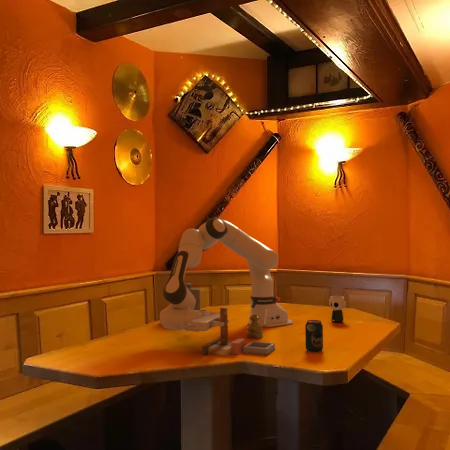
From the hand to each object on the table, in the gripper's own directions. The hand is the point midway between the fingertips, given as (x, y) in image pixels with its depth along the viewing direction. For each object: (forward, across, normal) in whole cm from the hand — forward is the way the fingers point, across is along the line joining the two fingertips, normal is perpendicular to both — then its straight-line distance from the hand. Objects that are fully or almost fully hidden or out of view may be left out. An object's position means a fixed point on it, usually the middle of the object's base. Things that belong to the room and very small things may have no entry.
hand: (226, 322), depth 206 cm
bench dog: (+5, 0, +11) cm, 13 cm away
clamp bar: (-6, 0, +11) cm, 13 cm away
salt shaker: (+3, +27, +12) cm, 29 cm away
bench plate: (-1, 0, +11) cm, 11 cm away
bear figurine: (+32, +73, +12) cm, 81 cm away
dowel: (-1, 0, +8) cm, 8 cm away
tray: (+13, +4, +11) cm, 18 cm away
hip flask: (-41, +49, +12) cm, 65 cm away
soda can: (+33, +12, +12) cm, 37 cm away
